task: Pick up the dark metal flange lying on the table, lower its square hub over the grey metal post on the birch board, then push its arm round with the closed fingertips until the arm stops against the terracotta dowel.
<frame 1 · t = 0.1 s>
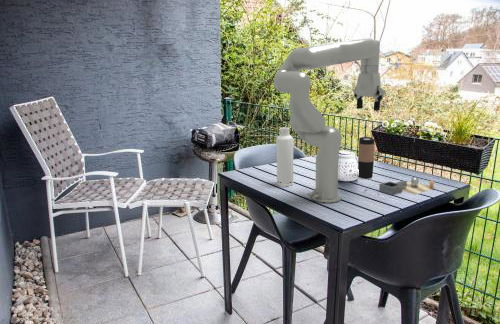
hand: (367, 109, 171), 37 cm above the table, tool pointing down, fingers open, 9 cm apart
post: (414, 186, 176), resting on board
bottle: (285, 184, 189), on the table
travel mug: (365, 177, 197), on the table
flange: (400, 190, 174), on the table
dowel: (431, 188, 173), resting on board
board: (413, 189, 175), on the table
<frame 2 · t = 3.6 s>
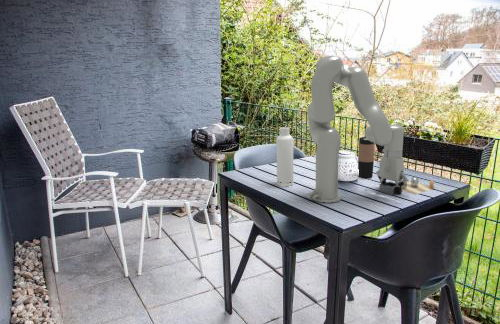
hand: (390, 192, 170), 1 cm above the table, tool pointing down, fingers closed on flange, 6 cm apart
flange: (400, 190, 174), on the table, touching gripper
everything else where it was.
when the fingers open (3 cm above the table, at t = 8.8 s): flange drops 2 cm, resting on board.
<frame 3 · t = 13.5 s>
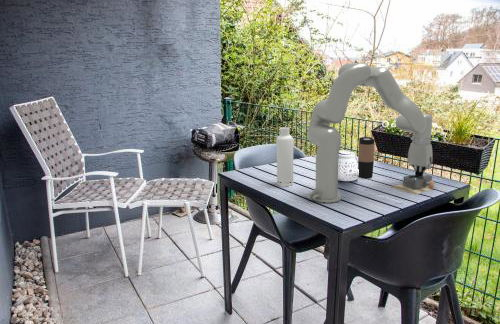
hand: (418, 179, 180), 3 cm above the table, tool pointing down, fingers closed
flange: (425, 184, 178), point 1 cm above the table, touching board, gripper
everything else where it was.
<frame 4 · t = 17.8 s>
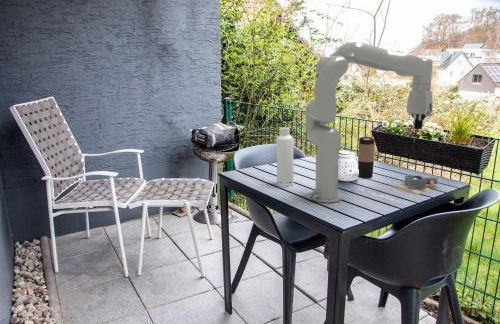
hand: (418, 128, 174), 27 cm above the table, tool pointing down, fingers closed
flange: (430, 186, 175), point 1 cm above the table, touching board
everything else where it was.
at the end: flange 0.7 cm from the target spot on the dowel, point 0.0 cm above the dowel's base; flange point 1.2 cm above the table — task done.
